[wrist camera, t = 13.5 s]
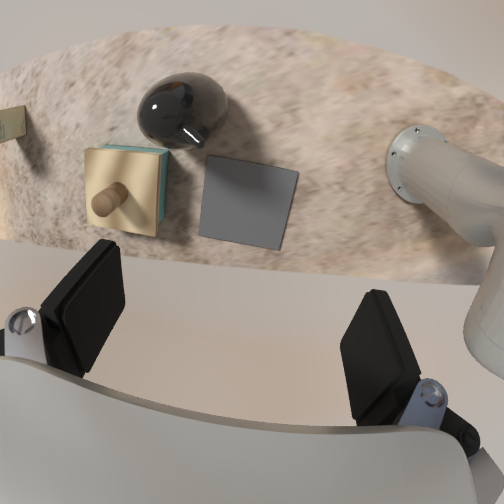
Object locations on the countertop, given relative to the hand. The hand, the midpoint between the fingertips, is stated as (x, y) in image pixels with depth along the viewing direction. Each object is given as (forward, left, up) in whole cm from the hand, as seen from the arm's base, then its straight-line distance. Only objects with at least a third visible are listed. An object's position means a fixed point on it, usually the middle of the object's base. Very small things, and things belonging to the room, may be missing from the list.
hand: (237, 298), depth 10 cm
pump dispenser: (+10, -4, -32) cm, 34 cm away
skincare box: (+47, -2, -32) cm, 57 cm away
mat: (+1, +9, -32) cm, 34 cm away
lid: (+19, +8, -28) cm, 35 cm away
